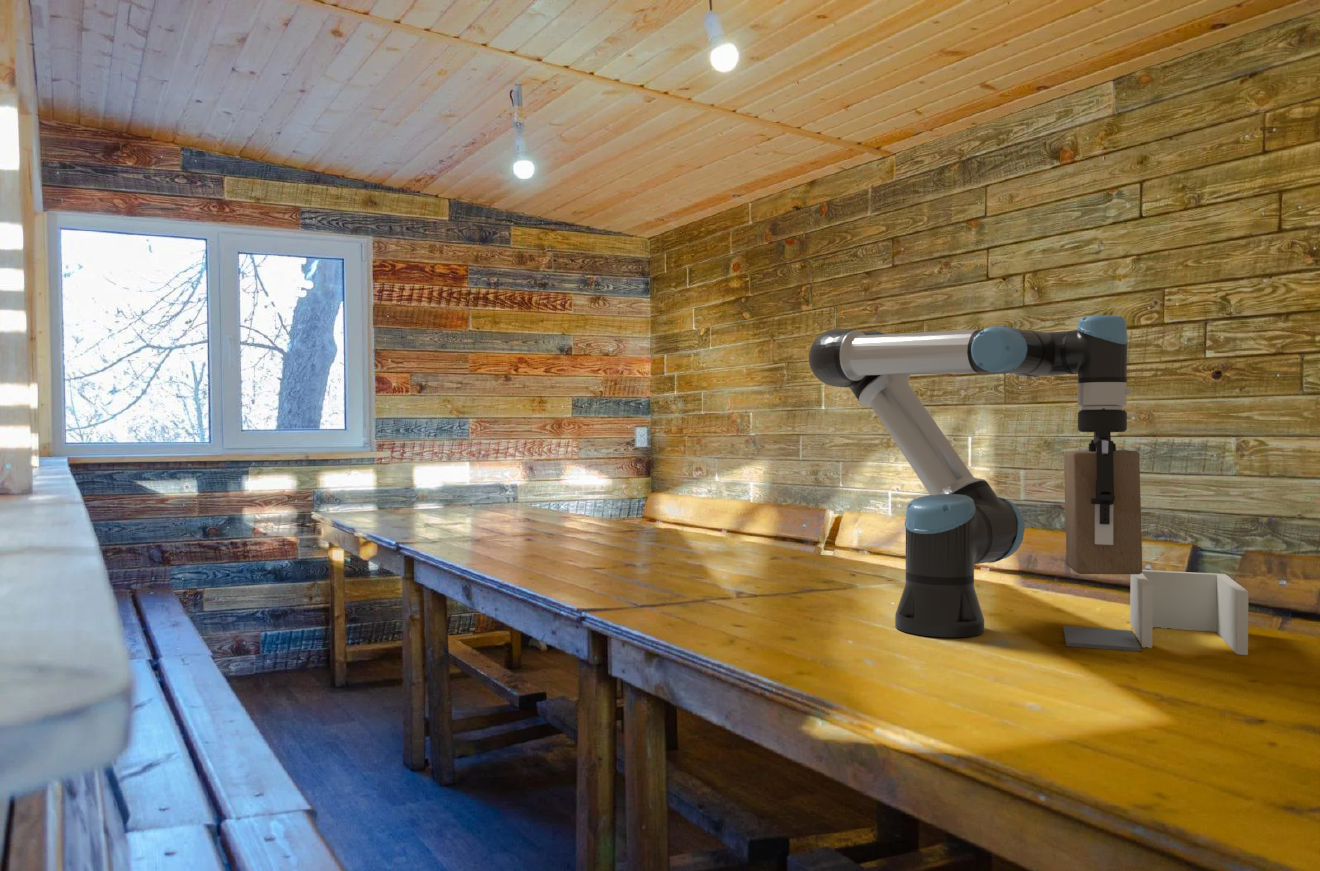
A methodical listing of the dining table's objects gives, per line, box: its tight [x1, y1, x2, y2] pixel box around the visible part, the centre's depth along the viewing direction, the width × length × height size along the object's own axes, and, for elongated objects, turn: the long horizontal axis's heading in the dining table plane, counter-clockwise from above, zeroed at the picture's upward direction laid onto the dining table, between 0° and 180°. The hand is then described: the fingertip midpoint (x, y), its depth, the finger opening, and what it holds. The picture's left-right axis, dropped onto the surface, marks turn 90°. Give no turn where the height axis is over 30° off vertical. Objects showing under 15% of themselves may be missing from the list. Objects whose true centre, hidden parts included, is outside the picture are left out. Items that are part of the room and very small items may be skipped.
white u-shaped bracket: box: [1129, 569, 1249, 656], centre depth 166 cm, size 15×20×10 cm
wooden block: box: [1063, 449, 1143, 575], centre depth 164 cm, size 10×10×20 cm
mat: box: [1062, 625, 1142, 652], centre depth 164 cm, size 11×14×1 cm
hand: (1101, 540), depth 164 cm, fingers closed on wooden block, 10 cm apart
